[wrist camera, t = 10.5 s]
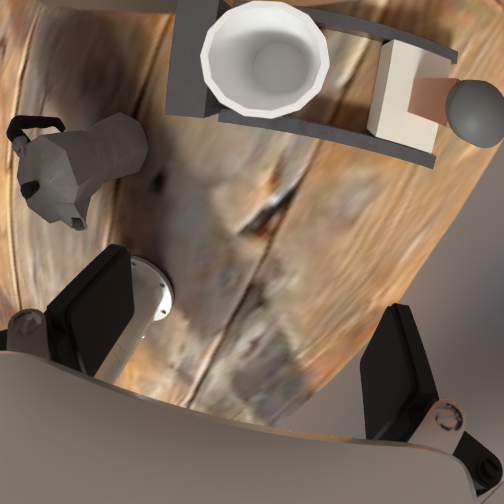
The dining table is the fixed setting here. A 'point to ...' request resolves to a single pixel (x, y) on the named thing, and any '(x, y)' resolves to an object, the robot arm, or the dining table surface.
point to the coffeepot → (74, 163)
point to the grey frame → (206, 104)
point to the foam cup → (264, 59)
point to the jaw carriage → (431, 101)
